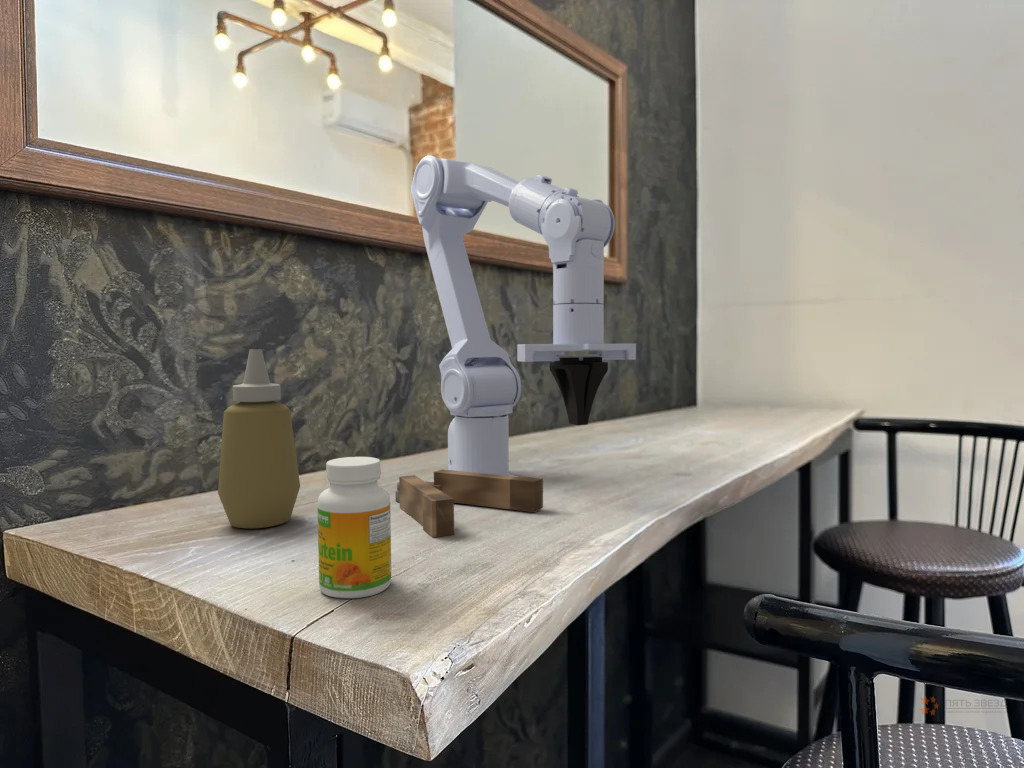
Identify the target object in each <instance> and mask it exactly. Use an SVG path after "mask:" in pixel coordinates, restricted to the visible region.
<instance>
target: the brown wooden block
mask: <svg viewBox="0 0 1024 768" xmlns="http://www.w3.org/2000/svg"><path fill="white" fill-rule="evenodd" d="M398 480H399V481H398V482H399V491H398V490H397V489H396V491H395V493H394V494H395V502H396V503H398V504H399V508H400V509H401V510H403V511H404V512H405V513H406V514H408V515H409V516H410V517H411V518H412V519H414V520H415V521H416V522H417V523H418V524H420V525H421V526H422V530H423V532H425V533H426V534H428V535H429V536H430V537H431V538H438V537H445V536H452V535H453V536H454V535H455V502H454V499H453V498H452V497H450V496H448V495H447V494H445V493H443V492H442V491H440V490H438V489H437V488H435V487H433V486H432V485H430V484H428V483H427V482H428V481H427V482H425V481H424V480H423V479H422V478H420V477H418V476H417V475H415V474H413V475H404V476H399V477H398Z"/></svg>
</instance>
